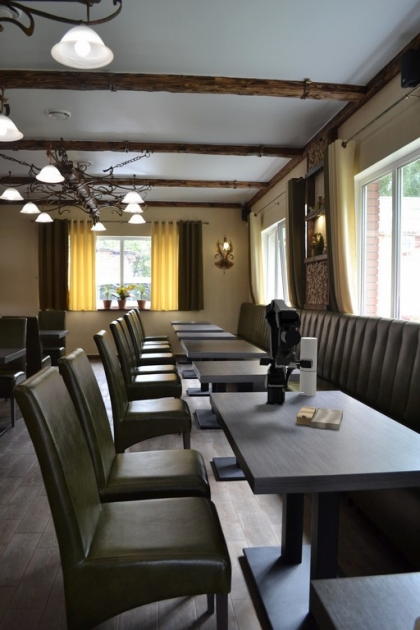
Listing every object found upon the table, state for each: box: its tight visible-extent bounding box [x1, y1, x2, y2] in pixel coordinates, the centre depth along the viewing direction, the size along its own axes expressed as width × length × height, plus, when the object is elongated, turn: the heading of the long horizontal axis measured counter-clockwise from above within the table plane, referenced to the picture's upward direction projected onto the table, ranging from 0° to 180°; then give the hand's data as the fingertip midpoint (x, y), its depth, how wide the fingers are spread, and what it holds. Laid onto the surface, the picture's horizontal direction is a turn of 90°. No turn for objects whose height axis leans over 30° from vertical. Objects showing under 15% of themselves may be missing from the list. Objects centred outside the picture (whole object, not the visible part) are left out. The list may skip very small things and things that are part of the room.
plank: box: [295, 406, 317, 426], centre depth 167 cm, size 17×5×3 cm, turn 162°
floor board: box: [310, 407, 344, 430], centre depth 165 cm, size 9×20×2 cm, turn 161°
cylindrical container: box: [299, 336, 318, 397], centre depth 208 cm, size 7×7×25 cm
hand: (285, 385), depth 172 cm, fingers closed
